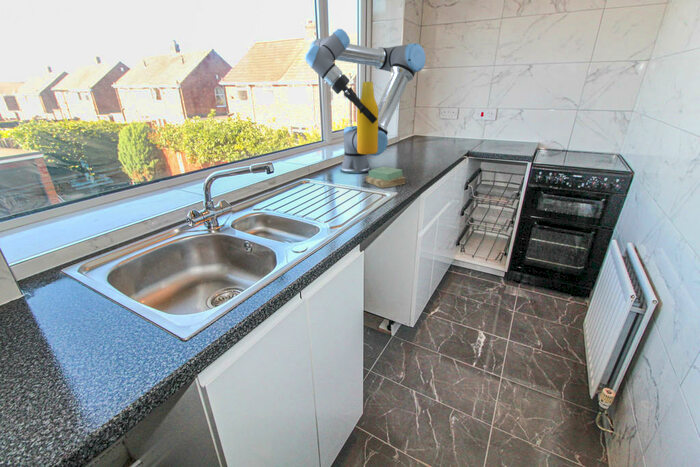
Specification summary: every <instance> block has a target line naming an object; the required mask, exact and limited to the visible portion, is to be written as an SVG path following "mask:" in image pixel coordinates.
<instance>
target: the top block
mask: <svg viewBox="0 0 700 467" xmlns="http://www.w3.org/2000/svg"><path fill="white" fill-rule="evenodd" d="M368 175H369V177H372V178H377V179H381V180H386V181H389V180H392V179H395V178H398V177H401V176H402V177H403V169H400V168H396V167H395V168H394V167H389V166H381V167H376V168H373V169H370V170H369V171H368Z"/></svg>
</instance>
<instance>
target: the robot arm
mask: <svg viewBox="0 0 700 467" xmlns="http://www.w3.org/2000/svg"><path fill="white" fill-rule="evenodd" d="M310 43H311V44H310V46H309V48H308V51H307V52H306V53H305V56H304V61H305V62H306V63H307V64H308V66H309V67H310V69H312V70H313V71H314V72H315V73H316V74H317V75H318V76H319V77H321V79H322V80H323V81H324V84H325V85H328V86H329V87H331V89H332V91H334V92H335V94H337V95H339V94H340V93H341V92H343V96H344V97H345V98H346V99H347V100H349V101H350V102H351V103H352V104H353V105H354V106H355V107H356V108H358V109H359V110H360V113H363V114H364V115H365V116H366V117H367V118H368V119H369V120H370V121H371V123H372V124H373V123H374V122H375V121H376V120H377V118H376V117H375V116H374V115H373V114H372V113H371V112H370V111H369V109H368V108H367V107H366V106H364V105H363V104H362V103H361V101H360V100H361V98H359V97H358V94H357V93H356V92H355V91H354V89H353V88H352V87H348V86H347V85H348V84H349V83H350V79H349V78H348V77H347V75H346V74H343V71H342V70H341V69H340V68H339V67H338V66H337V65H336V64H335V63H334V62H336V61H338V62H339V61H340V62H344V63H352V64H358V65H364V66H369V67H374V69H376V70H379V71H380V70H381V71H385V72H389V73H391V74H390V77H389V79H388V81H387V83H386V85H385V88H384V90H383V92H382V95H381V97H380V99H379V101H378V103H377V106H378V151H377V153H375V154H359V153H358V152H357V125H351V126H345V127H344V129H343V150H344V151H343V152H344V153H343V154H344V157H343V160H342V163H341V167H340V168H341V172H343V173H345V174H351V175H352V174H353V175H355V174H364V173H369V170H371V167H370V163H369V159H368V156H374V157H376V156H379V155H381V154H383V153H384V152H385V151H386V149H387V147H388V144H389V140H388V139H389V138H388V135H389V131H388V127H389V124H390V123H391V121H392V118H393V116H394V113H395V111H396V109H397V106H398V105H399V102H400V100H401V98H402V96H403V94H404V92H405V89H406V87H407V85H408V82H410V81H412V80H413V79H414V77H415V75H416V73H418V72H420V71H421V70H423V69H424V67H425V64H426V60H427V59H426V52H425V49H424V48H423V46H422V45H420V44H419V43H416V42H415V43H412V42H411V43H408V44H402V45H394V46H390V47H383V46H379V47H377V48H375V47H370V46H363V45H359V44H353V43H351V39H350V36H349V35H348V33H347V32H346V31H345V30H344V29H343V28H337V29H336V30H335V31H333V32H332V34H331V35H328V36H325V37H320V38H316V39H315V40H313V41H312V42H310ZM362 111H363V112H362Z"/></svg>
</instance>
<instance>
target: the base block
mask: <svg viewBox="0 0 700 467" xmlns="http://www.w3.org/2000/svg"><path fill="white" fill-rule="evenodd" d="M365 182H366V183H368V184H371V185H372V186H376V187H377V188H380V189H386V188H391V187H396V186H402V185H405V184H406V177H405V176H403V175H402V176H401V177H398V178H395V179H392V180H389V181H386V180H381V179H377V178H372V177H369V174H368V175H365Z"/></svg>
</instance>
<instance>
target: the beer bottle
mask: <svg viewBox="0 0 700 467" xmlns="http://www.w3.org/2000/svg"><path fill="white" fill-rule="evenodd" d="M374 91H375V90H374V82H373V81H363V82H362V86H361V96H360V101H361V103H362V104H363V105H364V106H366V107H367V108H368V109H369V111H370V112H371V113H372V114H373V115H374V116H375V117H376V118H377V120H376V121H375V122H374V123H373V124H372V123H371V121H370V120H369V119H368V118H367V117H366V116H365V115H364V114H363V113H360V110H359V109H358V108H357V107H356V108H357V109H356V126H357V152H358V153H359V154H366V155H367V154H375V153H377V151H378V106H377V105H378V103H377V101H376V98H375V92H374ZM362 112H363V111H362Z"/></svg>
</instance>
